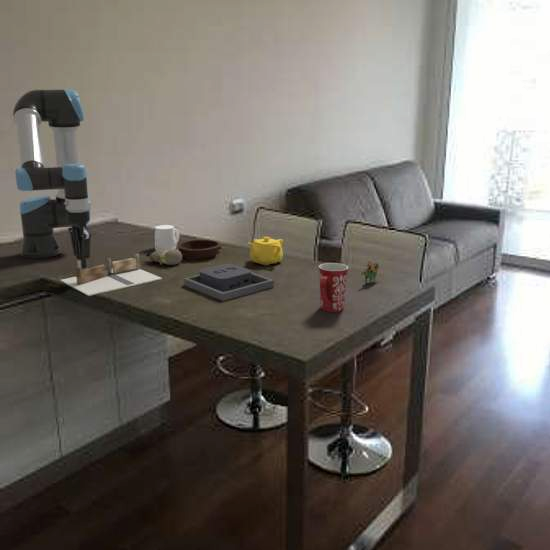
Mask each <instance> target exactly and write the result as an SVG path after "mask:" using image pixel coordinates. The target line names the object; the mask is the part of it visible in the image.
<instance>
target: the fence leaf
mask: <svg viewBox="0 0 550 550" xmlns="http://www.w3.org/2000/svg"><path fill="white" fill-rule="evenodd" d="M75 275H76V276H75V277H76V278H77V284H82V283H85V282H88V281H91V280H94V279H97V278H100V277H103V276H107V275H108V268H107V263H103V264H100V265H95V266H92V267H89V268H87V269H85V270H82V271H81V268H78V267H77V268H75Z"/></svg>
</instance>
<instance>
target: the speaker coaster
mask: <svg viewBox="0 0 550 550" xmlns="http://www.w3.org/2000/svg"><path fill="white" fill-rule="evenodd" d="M251 282H255V283H253V284H251V285H249V286H246V287H242V288H238V289H234V290H230V291H227V292H221V291H218V290H216V289H213V288H211V287H208V286H206V285H203V284H201V283H200V279H199V274H197V275H192V276H189V277H184V278H183V286H185V287H188V288H190V289H192V290H194V291H197V292H199V293H202V294H204V295H207V296H209V297H212V298H214V299H216V300H219V301H221V302H225V301H228V300H233V299H236V298H239V297H243V296H246V295H250V294H254V293H257V292H262V291H264V290H269V289H272V288H274V287H275V279H272V278H269V277H265V276H262V275H259V274H257V273H254V272H251Z"/></svg>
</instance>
